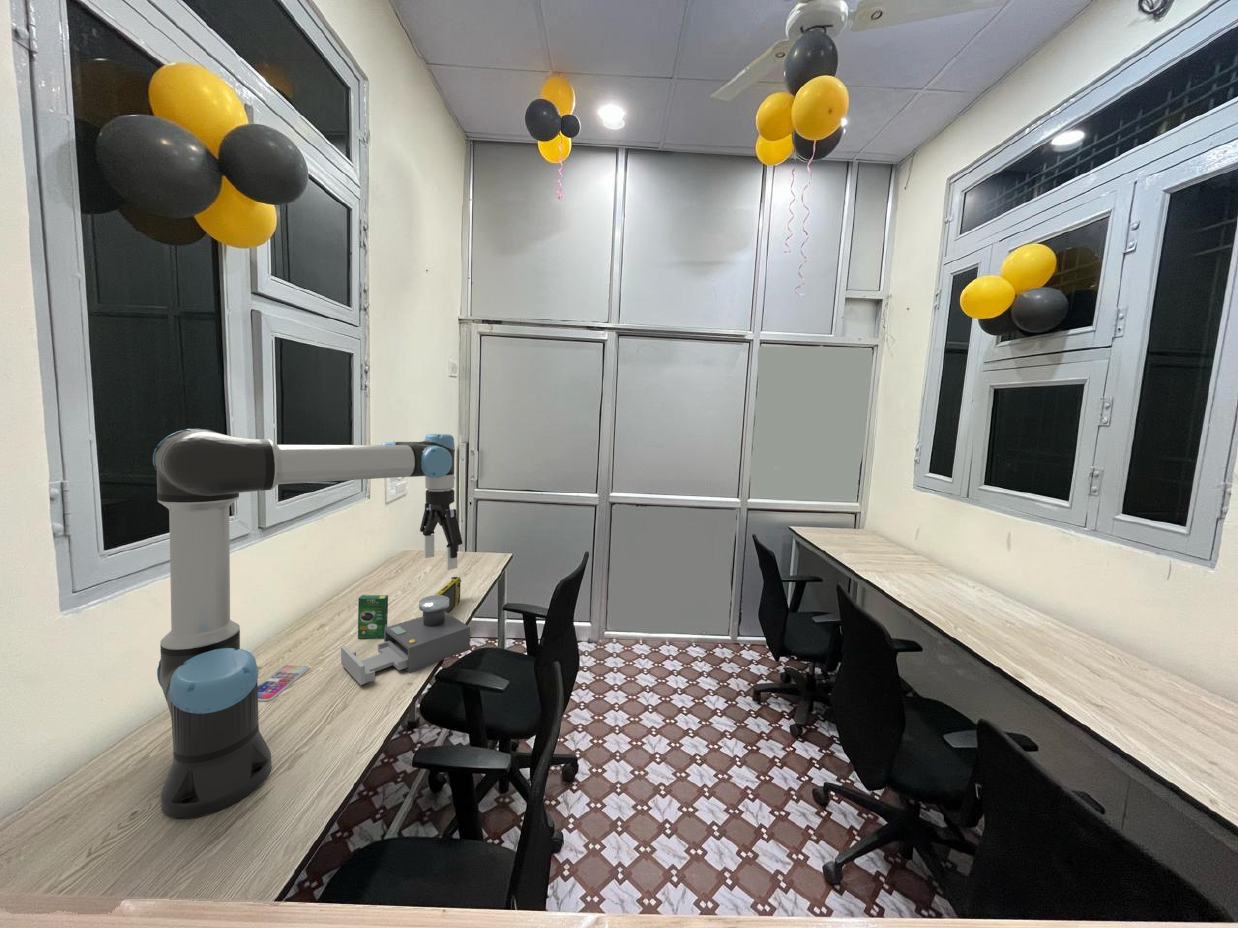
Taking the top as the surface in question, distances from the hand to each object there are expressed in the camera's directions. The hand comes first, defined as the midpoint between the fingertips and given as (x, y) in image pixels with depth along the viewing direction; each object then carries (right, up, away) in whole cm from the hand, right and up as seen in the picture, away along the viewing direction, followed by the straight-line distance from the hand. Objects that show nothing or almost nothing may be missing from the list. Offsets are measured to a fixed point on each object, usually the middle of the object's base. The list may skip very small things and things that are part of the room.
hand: (440, 562), depth 127 cm
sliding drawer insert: (-14, -26, -4) cm, 30 cm away
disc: (-5, -15, +8) cm, 17 cm away
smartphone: (-36, -28, -14) cm, 48 cm away
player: (-6, -27, +5) cm, 28 cm away
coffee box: (-25, -26, +12) cm, 38 cm away
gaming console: (-10, -25, +29) cm, 40 cm away
